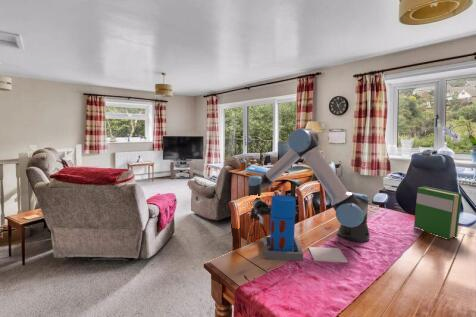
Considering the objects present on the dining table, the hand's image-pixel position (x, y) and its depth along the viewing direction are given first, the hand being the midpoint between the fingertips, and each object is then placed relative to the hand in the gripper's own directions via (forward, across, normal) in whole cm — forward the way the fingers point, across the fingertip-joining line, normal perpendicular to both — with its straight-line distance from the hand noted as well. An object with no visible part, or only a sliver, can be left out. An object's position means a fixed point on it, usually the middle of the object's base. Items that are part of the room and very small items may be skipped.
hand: (276, 220), depth 123 cm
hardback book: (+7, -93, -13) cm, 94 cm away
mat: (+15, -19, -12) cm, 27 cm away
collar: (+6, 0, -12) cm, 14 cm away
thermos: (+6, 0, -13) cm, 14 cm away
